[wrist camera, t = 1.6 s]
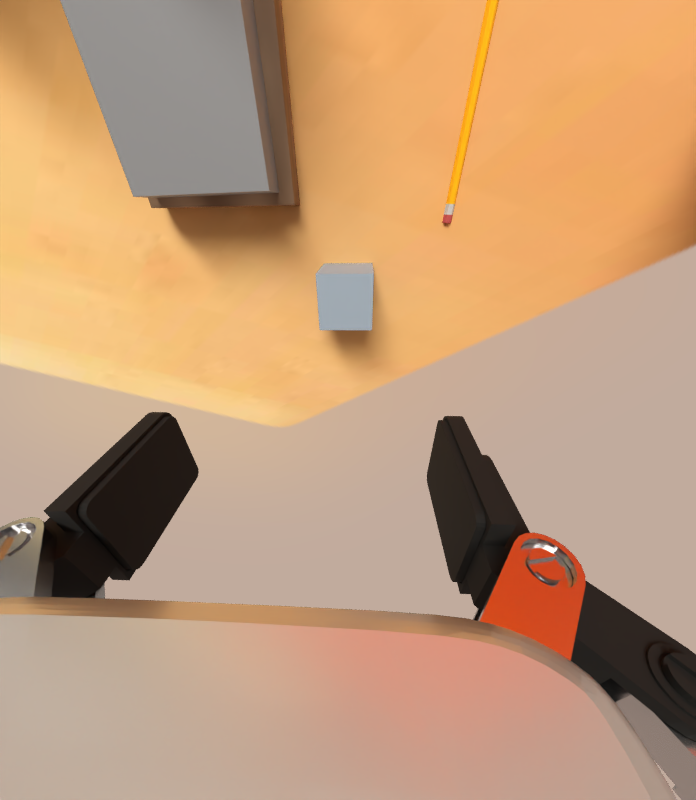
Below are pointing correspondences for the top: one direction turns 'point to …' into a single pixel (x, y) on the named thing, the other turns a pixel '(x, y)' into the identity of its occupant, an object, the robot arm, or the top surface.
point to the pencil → (471, 105)
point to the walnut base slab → (279, 118)
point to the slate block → (345, 296)
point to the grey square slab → (179, 93)
